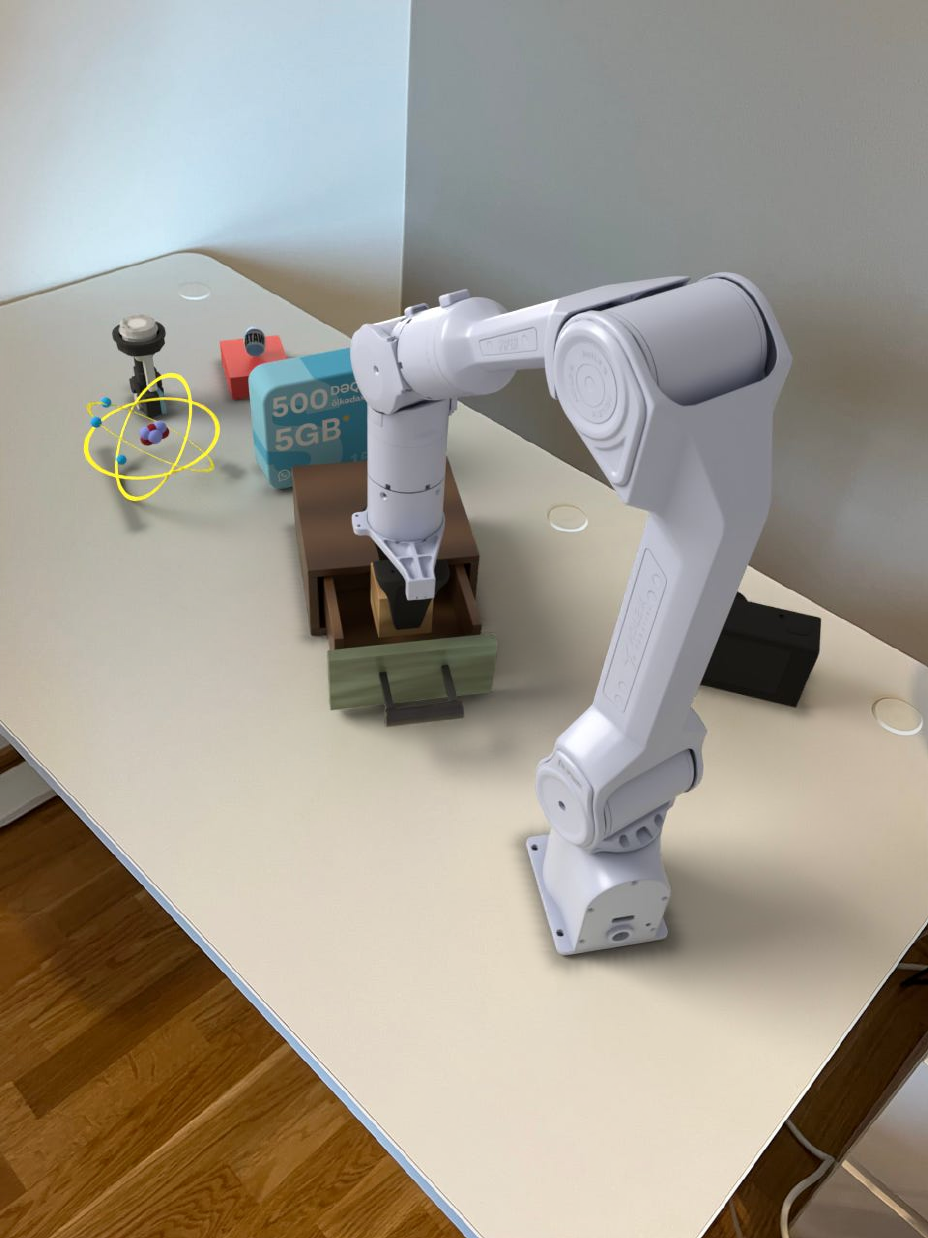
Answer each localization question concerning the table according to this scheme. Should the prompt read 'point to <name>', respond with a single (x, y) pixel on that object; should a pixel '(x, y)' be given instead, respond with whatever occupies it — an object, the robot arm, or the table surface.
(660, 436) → the robot arm
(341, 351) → the data package
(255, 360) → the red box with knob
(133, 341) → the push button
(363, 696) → the drawer
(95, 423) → the atom model
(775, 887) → the table surface
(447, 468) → the cabinet
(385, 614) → the block
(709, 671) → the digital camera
